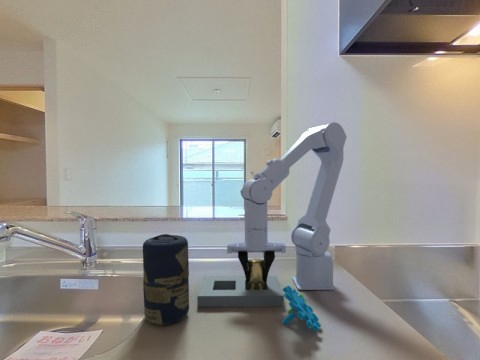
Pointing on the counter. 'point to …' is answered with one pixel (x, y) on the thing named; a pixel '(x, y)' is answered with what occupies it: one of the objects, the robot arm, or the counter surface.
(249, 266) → the bushing
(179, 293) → the canister
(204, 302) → the jig
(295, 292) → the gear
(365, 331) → the counter surface
